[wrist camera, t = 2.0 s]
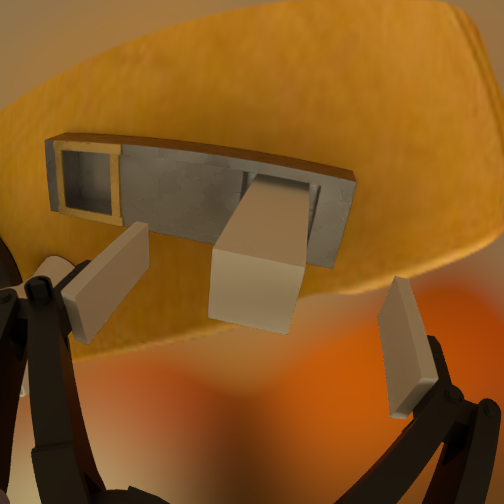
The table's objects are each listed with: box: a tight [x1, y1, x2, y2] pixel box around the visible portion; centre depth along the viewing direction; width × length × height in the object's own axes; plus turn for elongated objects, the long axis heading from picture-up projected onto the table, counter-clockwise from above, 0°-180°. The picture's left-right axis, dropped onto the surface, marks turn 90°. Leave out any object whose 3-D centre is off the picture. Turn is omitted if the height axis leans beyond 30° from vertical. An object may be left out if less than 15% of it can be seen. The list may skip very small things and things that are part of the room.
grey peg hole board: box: [45, 133, 357, 269], centre depth 25 cm, size 26×7×3 cm, turn 82°
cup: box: [1, 256, 75, 397], centre depth 29 cm, size 11×11×15 cm
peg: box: [208, 173, 310, 335], centre depth 20 cm, size 4×4×12 cm
